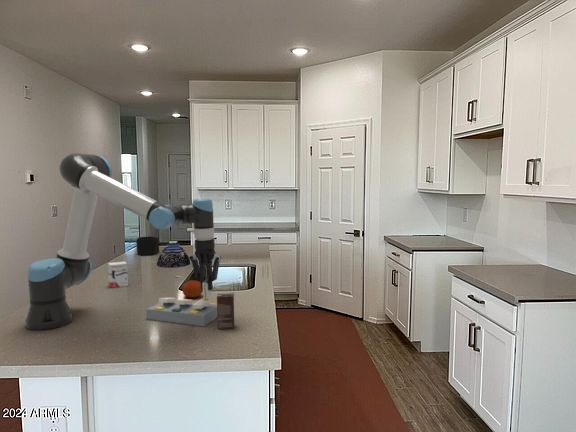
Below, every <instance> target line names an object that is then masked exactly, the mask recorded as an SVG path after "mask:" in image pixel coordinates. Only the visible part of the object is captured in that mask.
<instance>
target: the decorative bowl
mask: <svg viewBox="0 0 576 432" xmlns="http://www.w3.org/2000/svg"><path fill="white" fill-rule="evenodd" d="M168 243H169V244H166V247H164V248H163V250H162V251H161V254H160V255H159V257H158V258H157V261H156V266H157V267H160V268H166V269H167V268H170V269H171V268H173V269H174V268H175V266H176V267H177V268H181V267H187V266H189V265H191V260H190V258H189V257H190V256H189V255H188V253H186V251H185V249H184V247H182V246H181V244H179V243H178V241H175V240H174V241H169V242H168ZM182 253H183V255H182Z"/></svg>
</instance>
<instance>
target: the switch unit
mask: <svg viewBox="0 0 576 432" xmlns="http://www.w3.org/2000/svg"><path fill="white" fill-rule="evenodd" d="M196 302H197V301H194V300H193V304H194V303H196ZM193 304H185V305H182V304H175V302H169V303H164V302H157V303H156V304H154V305H152V306H150V307H148V308H146V310H145V311H146V314H145V315H146V320H151V321H158V322H165V323H167V322H168V323H176V324H183V325H190V326H198V327H205V326H207V325H208V324H211V322H213V321H214V320H216V319H218V315H217V303H213V302H212V303H211V302H210V303H209V304H208V305H206V306H205V307H203V308H202V309H196V308H193V306H192V305H193Z"/></svg>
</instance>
